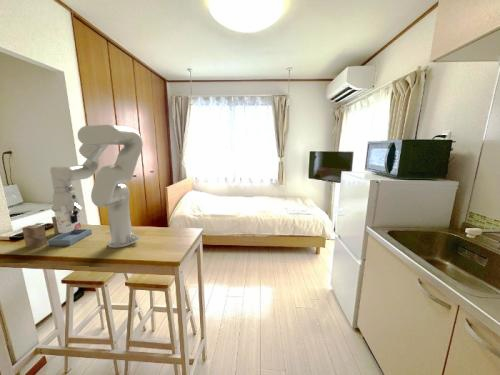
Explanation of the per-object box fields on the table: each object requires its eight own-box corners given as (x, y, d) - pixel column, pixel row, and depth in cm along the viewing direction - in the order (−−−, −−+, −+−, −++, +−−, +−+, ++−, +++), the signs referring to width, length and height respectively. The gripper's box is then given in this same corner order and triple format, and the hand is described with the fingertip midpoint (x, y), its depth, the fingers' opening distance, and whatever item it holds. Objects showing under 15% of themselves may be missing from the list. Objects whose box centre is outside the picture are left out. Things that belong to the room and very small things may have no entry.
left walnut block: (47, 243, 109) (44, 225, 107) (41, 246, 106) (38, 227, 104) (32, 243, 109) (28, 225, 107) (26, 246, 106) (22, 227, 104)
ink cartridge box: (74, 226, 118) (70, 201, 115) (81, 227, 117) (77, 202, 114) (57, 232, 110) (52, 205, 107) (65, 233, 109) (60, 206, 106)
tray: (91, 233, 122) (91, 228, 121) (70, 245, 107) (69, 240, 107) (72, 233, 122) (72, 228, 121) (48, 245, 107) (47, 240, 107)
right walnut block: (72, 231, 125) (70, 215, 123) (68, 233, 122) (65, 217, 120) (59, 231, 125) (56, 215, 123) (54, 233, 122) (51, 217, 120)
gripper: (85, 188, 113) (90, 220, 116) (53, 188, 113) (58, 220, 116) (74, 191, 106) (79, 225, 109) (39, 190, 106) (46, 224, 109)
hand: (68, 222), depth 113 cm, fingers closed on ink cartridge box, 5 cm apart
